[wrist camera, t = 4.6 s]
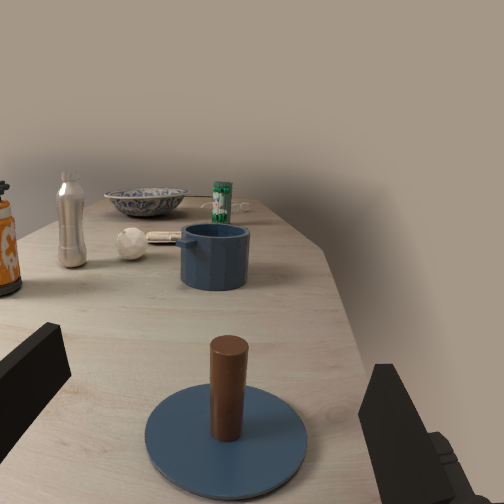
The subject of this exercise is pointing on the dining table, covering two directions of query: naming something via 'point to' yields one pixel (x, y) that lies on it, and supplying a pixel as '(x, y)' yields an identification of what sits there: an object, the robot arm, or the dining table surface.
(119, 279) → the dining table surface
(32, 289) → the dining table surface
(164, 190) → the ceramic bowl
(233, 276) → the pot
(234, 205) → the eyeglasses
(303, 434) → the lid
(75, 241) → the metal water bottle
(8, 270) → the canister
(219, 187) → the can
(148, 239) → the newspaper
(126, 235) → the ornament
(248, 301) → the dining table surface
